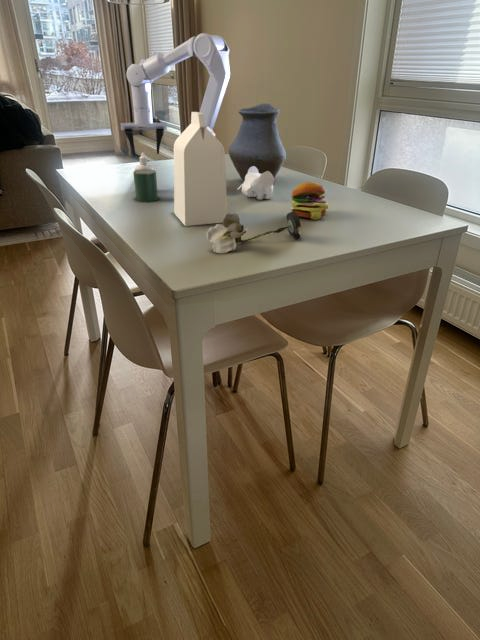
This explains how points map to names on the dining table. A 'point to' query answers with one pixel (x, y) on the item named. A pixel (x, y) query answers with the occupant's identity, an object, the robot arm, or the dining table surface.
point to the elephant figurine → (258, 184)
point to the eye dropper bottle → (143, 163)
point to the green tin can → (145, 185)
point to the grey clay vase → (258, 141)
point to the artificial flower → (243, 232)
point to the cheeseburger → (309, 201)
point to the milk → (199, 175)
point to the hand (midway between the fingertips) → (146, 153)
